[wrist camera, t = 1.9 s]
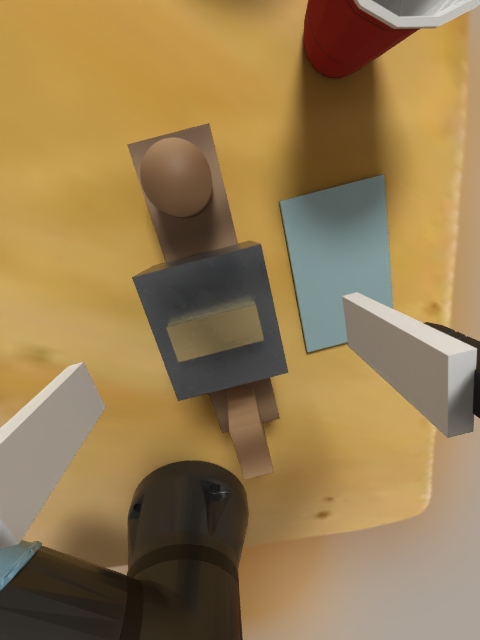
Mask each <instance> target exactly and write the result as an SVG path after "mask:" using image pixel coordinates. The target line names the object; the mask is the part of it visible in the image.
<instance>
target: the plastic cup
mask: <svg viewBox="0 0 480 640" xmlns="http://www.w3.org/2000/svg"><path fill="white" fill-rule="evenodd" d="M479 5H480V0H308V5H307V10H306V15H305V20H304V47H305V50H306V54H307V57H308V60H309V62H310V63H311V64H312V66H313V67H314V68H315V70H316V71H317V72H319V73H321V74H323V75H324V76H326V77H328V78H341V77H343V76H347V75H349V74H351V73H353V72H355V71H357V70H359V69H360V68H361V67H363V66H364V65H365V64H367V63H368V62H370V61H371V60H373V59H375V58H377V57H379V56H380V55H382V54H383V53H385V52H386V51H388V50H389V49H391V48H392V47H394V46H395V45H397V44H398V43H400V42H401V41H403V40H404V39H406V38H407V37H408V36H410V35H411V34H413V33H414V32H416V31H417V30H419V29H420V28H436V27H439V26H441V25H443V24H445V23H447V22H449V21H450V20H452V19H454V18H456V17H458V16H460V15H462V14H464V13H466V12H468V11H470V10H472V9H474V8H475V7H477V6H479Z"/></svg>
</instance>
